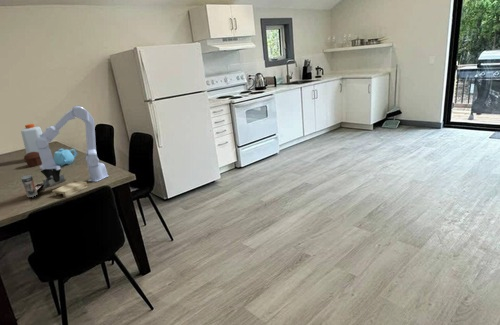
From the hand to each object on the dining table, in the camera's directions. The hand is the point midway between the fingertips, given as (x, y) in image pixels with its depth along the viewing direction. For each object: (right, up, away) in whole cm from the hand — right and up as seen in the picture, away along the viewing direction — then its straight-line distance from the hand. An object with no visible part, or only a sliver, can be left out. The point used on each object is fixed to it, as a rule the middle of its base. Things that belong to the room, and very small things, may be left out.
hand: (54, 181), depth 180 cm
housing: (0, -1, 0) cm, 2 cm away
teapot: (-25, +9, +53) cm, 60 cm away
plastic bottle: (-61, +14, +81) cm, 102 cm away
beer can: (-9, -8, -5) cm, 13 cm away
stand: (+11, -5, -3) cm, 13 cm away
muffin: (-52, +9, +61) cm, 80 cm away
